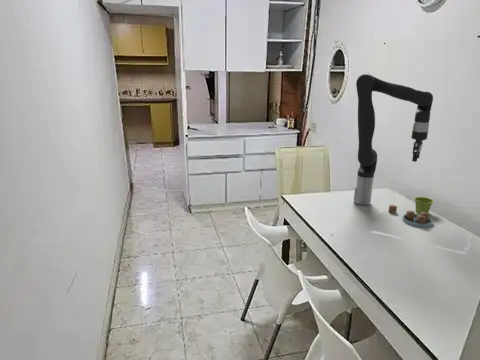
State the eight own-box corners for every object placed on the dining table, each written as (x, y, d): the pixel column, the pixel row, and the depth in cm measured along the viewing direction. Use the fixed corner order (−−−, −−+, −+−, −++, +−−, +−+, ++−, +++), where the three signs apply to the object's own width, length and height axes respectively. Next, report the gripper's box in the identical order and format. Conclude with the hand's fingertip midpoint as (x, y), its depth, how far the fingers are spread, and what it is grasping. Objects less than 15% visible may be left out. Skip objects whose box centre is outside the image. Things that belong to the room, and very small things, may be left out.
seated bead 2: (418, 221, 181) (420, 213, 180) (420, 219, 184) (421, 211, 183) (427, 223, 179) (428, 215, 177) (428, 220, 182) (429, 212, 181)
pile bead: (387, 214, 193) (388, 206, 192) (389, 211, 196) (390, 204, 195) (395, 215, 191) (396, 208, 190) (396, 213, 194) (397, 205, 193)
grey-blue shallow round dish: (399, 224, 179) (400, 220, 179) (404, 215, 191) (405, 211, 190) (430, 231, 172) (431, 226, 171) (433, 221, 183) (434, 217, 182)
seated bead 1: (415, 225, 177) (416, 216, 176) (416, 222, 180) (417, 214, 179) (423, 226, 175) (425, 218, 173) (424, 224, 178) (426, 216, 177)
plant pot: (434, 217, 188) (437, 203, 186) (416, 217, 188) (419, 202, 186) (425, 211, 197) (428, 196, 194) (409, 211, 197) (411, 196, 195)
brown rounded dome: (404, 220, 182) (405, 212, 181) (406, 217, 186) (407, 210, 184) (413, 222, 180) (414, 214, 179) (414, 219, 184) (415, 211, 182)
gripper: (414, 128, 192) (410, 156, 197) (410, 131, 180) (405, 161, 185) (429, 129, 188) (424, 158, 193) (426, 132, 176) (421, 163, 181)
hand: (415, 159), depth 189 cm, fingers open, 8 cm apart
